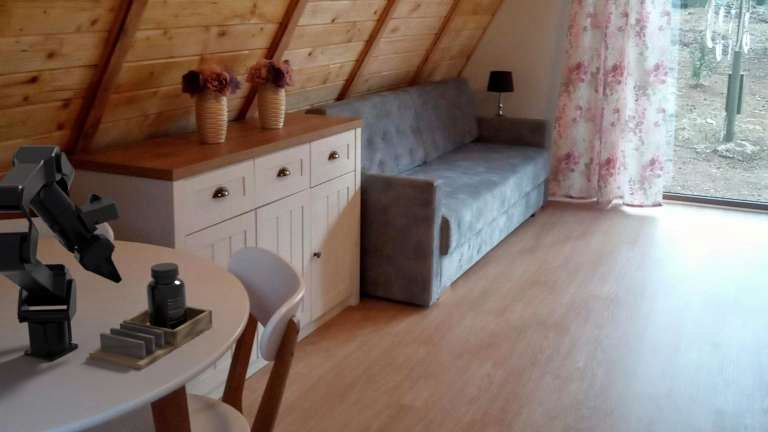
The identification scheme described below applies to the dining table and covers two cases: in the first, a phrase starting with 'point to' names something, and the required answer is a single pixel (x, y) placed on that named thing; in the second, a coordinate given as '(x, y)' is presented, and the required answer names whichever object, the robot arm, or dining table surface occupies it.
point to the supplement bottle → (166, 297)
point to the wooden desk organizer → (149, 338)
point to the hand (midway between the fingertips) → (112, 274)
